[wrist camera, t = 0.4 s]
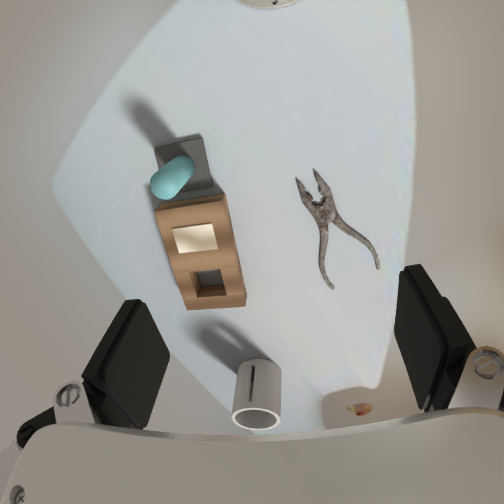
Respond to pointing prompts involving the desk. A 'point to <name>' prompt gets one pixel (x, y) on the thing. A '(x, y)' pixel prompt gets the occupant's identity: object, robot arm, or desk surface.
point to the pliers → (325, 216)
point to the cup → (257, 395)
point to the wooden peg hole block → (202, 250)
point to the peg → (172, 177)
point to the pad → (196, 153)
